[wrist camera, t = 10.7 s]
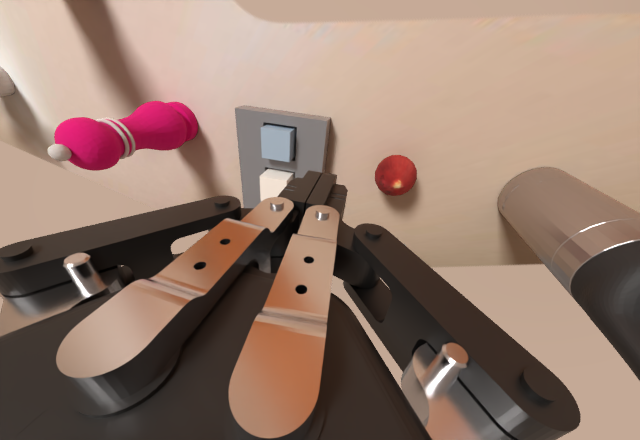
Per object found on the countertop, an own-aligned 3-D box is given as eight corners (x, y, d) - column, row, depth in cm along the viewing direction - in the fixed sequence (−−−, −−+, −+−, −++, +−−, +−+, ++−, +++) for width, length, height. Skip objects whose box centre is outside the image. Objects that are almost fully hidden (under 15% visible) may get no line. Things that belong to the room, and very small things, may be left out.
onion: (393, 190, 40) (396, 214, 34) (367, 169, 39) (365, 189, 33) (421, 164, 37) (430, 185, 31) (393, 141, 36) (397, 156, 30)
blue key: (298, 126, 37) (290, 132, 34) (296, 154, 40) (289, 162, 36) (271, 122, 38) (260, 127, 34) (271, 150, 40) (261, 157, 37)
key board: (330, 117, 36) (327, 121, 34) (317, 234, 48) (314, 243, 46) (244, 105, 38) (234, 108, 36) (252, 221, 50) (245, 228, 47)
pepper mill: (207, 121, 41) (89, 156, 24) (190, 151, 44) (77, 198, 28) (171, 88, 39) (17, 100, 22) (156, 121, 43) (14, 153, 26)
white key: (294, 171, 40) (286, 181, 37) (293, 195, 42) (286, 205, 39) (269, 167, 41) (259, 176, 37) (269, 191, 43) (260, 201, 40)
